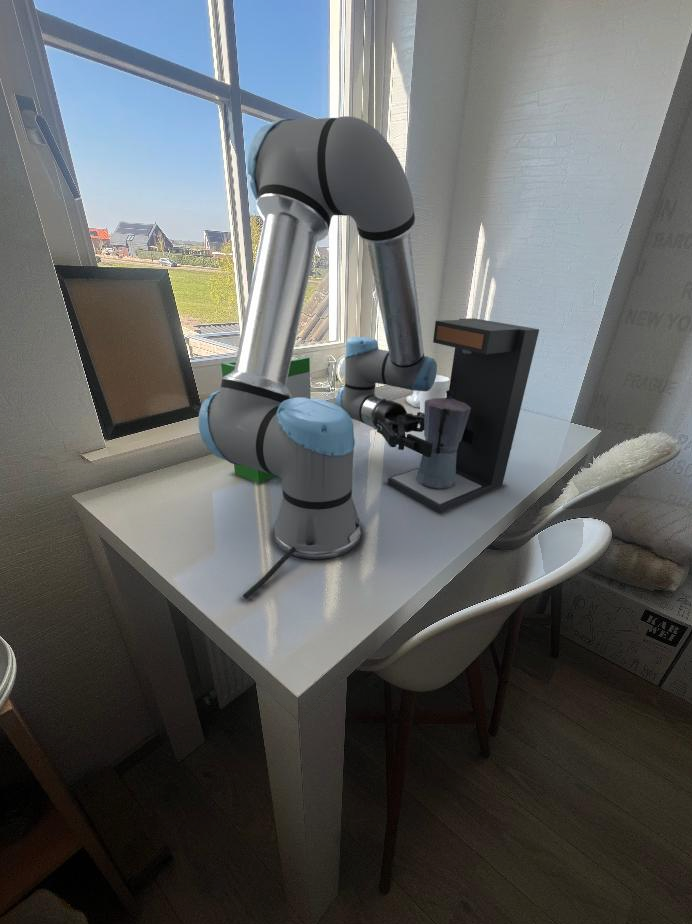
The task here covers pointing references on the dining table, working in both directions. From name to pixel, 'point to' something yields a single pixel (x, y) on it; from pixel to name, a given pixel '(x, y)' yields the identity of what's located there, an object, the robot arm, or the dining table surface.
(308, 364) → the hardback book
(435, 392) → the foam cup
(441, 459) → the moka pot
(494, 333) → the coffee maker
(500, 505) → the dining table surface
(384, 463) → the dining table surface
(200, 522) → the dining table surface
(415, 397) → the sitting furry creature
